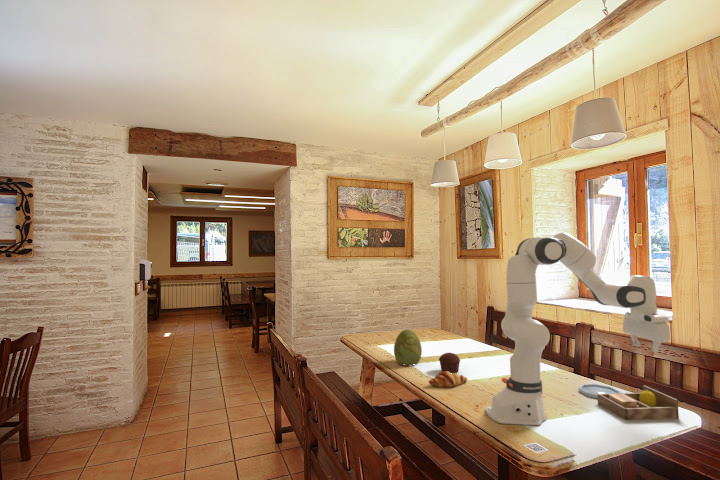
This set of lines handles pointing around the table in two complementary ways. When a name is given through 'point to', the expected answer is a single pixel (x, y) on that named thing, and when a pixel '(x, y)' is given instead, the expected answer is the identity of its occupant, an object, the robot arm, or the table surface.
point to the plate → (596, 390)
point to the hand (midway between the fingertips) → (645, 348)
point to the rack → (643, 406)
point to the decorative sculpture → (407, 348)
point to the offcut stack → (623, 400)
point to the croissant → (448, 379)
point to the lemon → (647, 398)
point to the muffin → (449, 362)
